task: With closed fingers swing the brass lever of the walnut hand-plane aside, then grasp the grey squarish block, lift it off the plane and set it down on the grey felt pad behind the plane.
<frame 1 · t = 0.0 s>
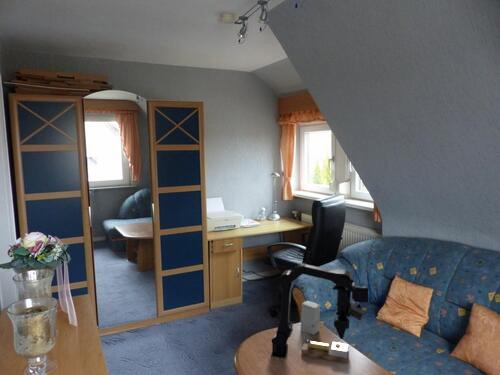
hand: (342, 333, 162), 15 cm above the table, fingers open, 9 cm apart
felt pad: (328, 347, 178), on the table
lever: (316, 344, 171), point 5 cm above the table, hinge at 0.0°
skincare box: (310, 331, 194), on the table
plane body: (325, 356, 170), on the table
grey squarish block: (339, 352, 168), point 3 cm above the table, touching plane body
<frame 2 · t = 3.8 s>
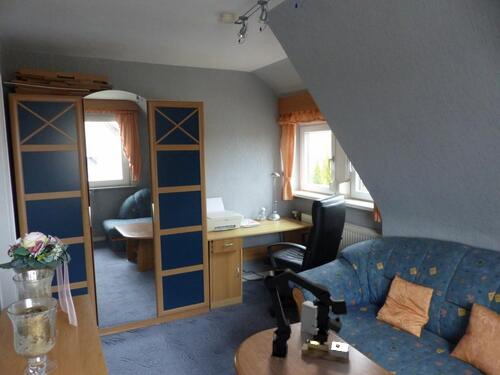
hand: (322, 345, 172), 4 cm above the table, fingers closed
lever: (316, 345, 171), point 5 cm above the table, hinge at 2.3°, touching gripper
everything else where it was.
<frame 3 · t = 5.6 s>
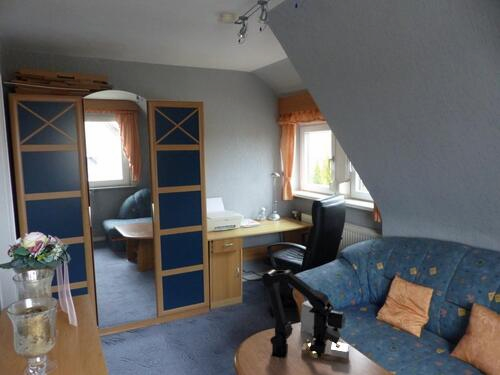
hand: (319, 356, 162), 4 cm above the table, fingers closed
lever: (311, 348, 168), point 5 cm above the table, hinge at 60.0°
everything else where it was.
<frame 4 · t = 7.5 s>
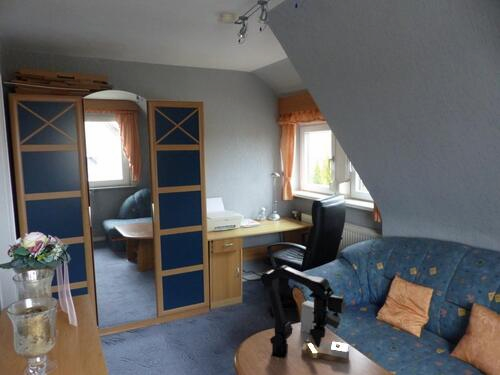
hand: (319, 342, 161), 11 cm above the table, fingers open, 8 cm apart
lever: (310, 348, 168), point 5 cm above the table, hinge at 60.7°
everything else where it was.
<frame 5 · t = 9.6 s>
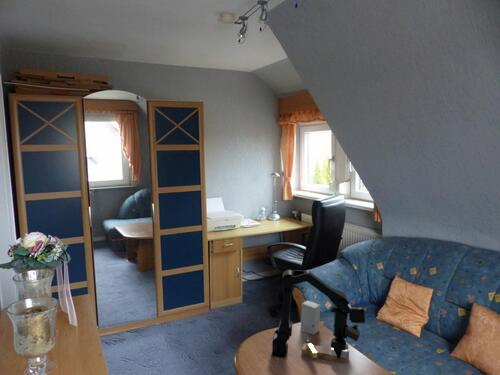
hand: (339, 353, 168), 3 cm above the table, fingers closed on grey squarish block, 6 cm apart
grey squarish block: (339, 352, 168), point 3 cm above the table, touching gripper, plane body
everything else where it was.
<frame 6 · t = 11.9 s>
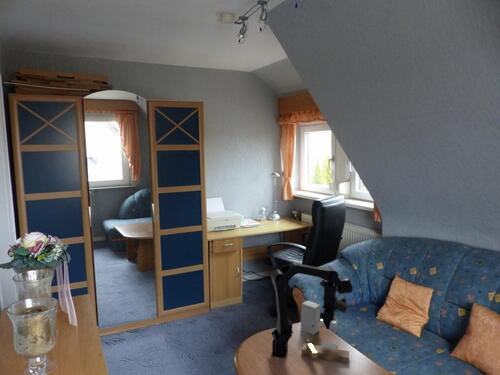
hand: (328, 325, 176), 11 cm above the table, fingers closed on grey squarish block, 6 cm apart
grey squarish block: (328, 324, 176), point 12 cm above the table, touching gripper
everything else where it was.
when the fingers open (1 cm above the table, at t = 14.1 s): grey squarish block drops 1 cm, resting on felt pad.
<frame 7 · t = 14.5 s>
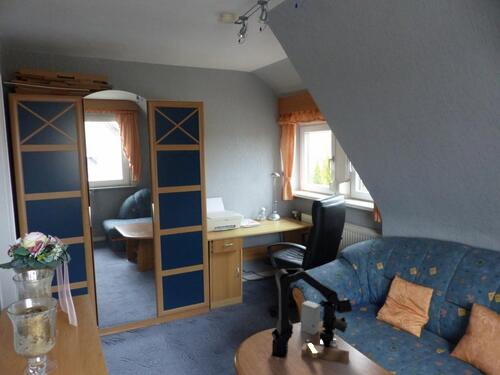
hand: (328, 344, 178), 1 cm above the table, fingers open, 8 cm apart
grey squarish block: (328, 347, 178), resting on felt pad
everything else where it was.
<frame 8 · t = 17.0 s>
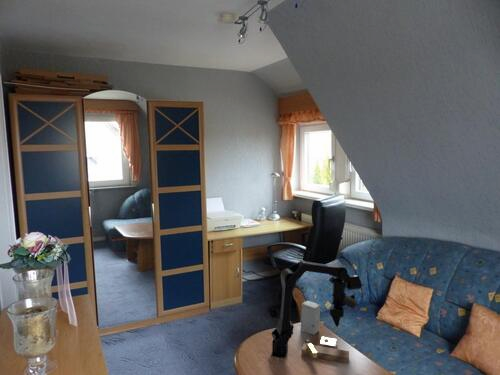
hand: (338, 321, 177), 12 cm above the table, fingers open, 9 cm apart
nothing on the table moved.
at the end: grey squarish block inside the target area (0.0 cm from its centre), resting on felt pad; lever at +61° (first picture: +0°); grey squarish block touching felt pad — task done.
